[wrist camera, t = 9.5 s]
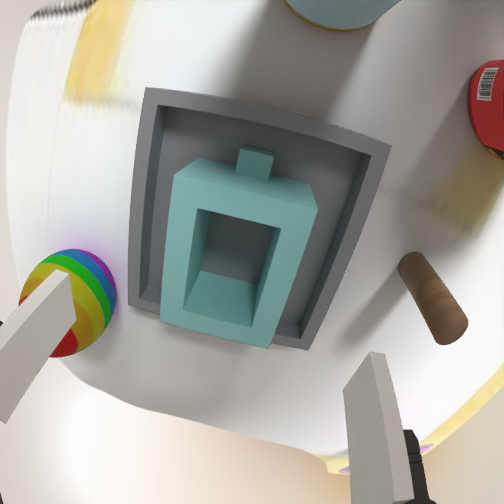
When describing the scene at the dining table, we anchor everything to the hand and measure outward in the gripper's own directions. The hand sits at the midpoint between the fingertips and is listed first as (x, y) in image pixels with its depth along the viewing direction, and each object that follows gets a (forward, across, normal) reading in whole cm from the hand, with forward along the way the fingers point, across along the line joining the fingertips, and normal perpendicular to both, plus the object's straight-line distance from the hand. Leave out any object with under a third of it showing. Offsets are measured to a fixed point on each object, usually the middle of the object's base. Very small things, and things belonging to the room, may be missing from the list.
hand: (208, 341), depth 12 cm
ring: (+11, 0, -1) cm, 11 cm away
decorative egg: (+12, -13, -9) cm, 20 cm away
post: (+12, +14, 0) cm, 18 cm away
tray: (+12, 0, 0) cm, 12 cm away
